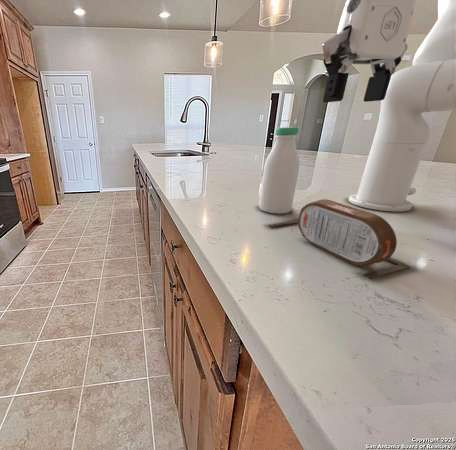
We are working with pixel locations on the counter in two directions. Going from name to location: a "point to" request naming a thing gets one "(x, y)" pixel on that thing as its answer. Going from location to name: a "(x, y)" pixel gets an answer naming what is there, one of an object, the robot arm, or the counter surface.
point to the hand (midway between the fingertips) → (353, 101)
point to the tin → (347, 232)
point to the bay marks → (370, 275)
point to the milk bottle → (280, 173)
